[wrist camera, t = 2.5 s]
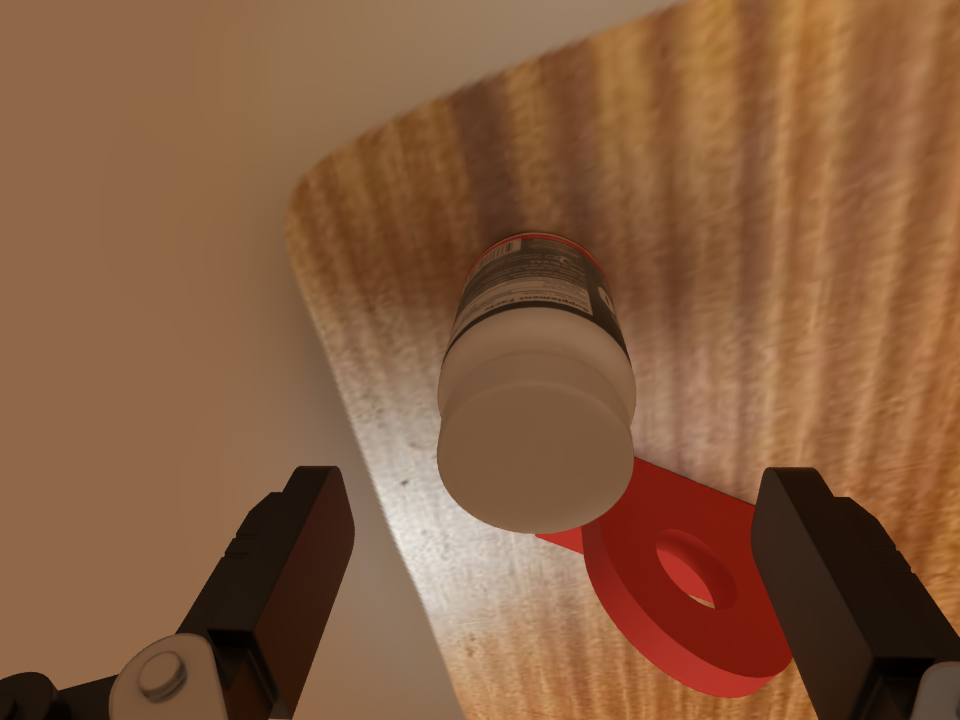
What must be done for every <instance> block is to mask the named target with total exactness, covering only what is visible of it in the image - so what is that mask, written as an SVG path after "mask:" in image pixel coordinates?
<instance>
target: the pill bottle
mask: <svg viewBox="0 0 960 720" xmlns="http://www.w3.org/2000/svg"><path fill="white" fill-rule="evenodd" d="M438 406H439V411H440V416H441V429H440V435H439V441H438V447H437V464H438V470H439V473H440V476H441V479H442V482H443V484H444V486H445V488H446V489H447V491H448V492H449V494H450V495H451V497H452V498H453V499H454V500H455V501H456V502H457V503H458V505H460V506H461V507H462V508H463V509H464V510H465V511H467V512H468V513H469V514H471V515H472V516H474V517H475V518H477V519H479V520H481V521H482V522H484V523H487V524H489V525H492V526H494V527H497V528H501V529H504V530H508V531H513V532H519V533H529V534H549V533H556V532H561V531H566V530H570V529H573V528H576V527H579V526H582V525H585V524H587V523H589V522H591V521H593V520H594V519H596V518H598V517H599V516H601V515H603V514H604V513H605V512H607V511H608V510H609V509H610V508H611V507H612V506H613V505H614V504H615V503H616V502H617V501H618V500H619V499H620V497H621V496H622V495H623V493H624V492H625V490H626V488H627V486H628V484H629V482H630V480H631V476H632V472H633V466H634V450H633V443H632V437H631V430H630V425H631V423H632V419H633V416H634V411H635V406H636V385H635V379H634V374H633V370H632V366H631V362H630V359H629V355H628V352H627V349H626V345H625V342H624V338H623V335H622V332H621V329H620V324H619V321H618V318H617V314H616V311H615V309H614V305H613V301H612V298H611V295H610V290H609V287H608V283H607V280H606V278H605V276H604V274H603V272H602V270H601V268H600V266H599V265H598V263H597V262H596V261H595V259H594V258H593V257H592V256H591V255H590V254H589V253H588V252H587V251H586V250H585V249H583V248H582V247H581V246H579V245H578V244H576V243H574V242H572V241H570V240H568V239H565V238H563V237H560V236H556V235H553V234H548V233H536V232H534V233H523V234H518V235H515V236H511V237H509V238H506V239H504V240H502V241H500V242H498V243H497V244H495V245H493V246H492V247H490V248H489V249H488V250H487V251H485V252H484V253H483V254H482V255H481V256H480V257H479V258H478V260H477V261H476V262H475V264H474V265H473V267H472V268H471V270H470V272H469V274H468V276H467V278H466V281H465V284H464V287H463V292H462V296H461V300H460V304H459V307H458V311H457V315H456V319H455V322H454V326H453V329H452V332H451V336H450V340H449V343H448V346H447V350H446V353H445V356H444V359H443V363H442V367H441V372H440V377H439V383H438Z"/></svg>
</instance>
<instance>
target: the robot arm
mask: <svg viewBox="0 0 960 720" xmlns="http://www.w3.org/2000/svg"><path fill="white" fill-rule="evenodd" d="M354 537H355V527H354V520H353V516H352V512H351V508H350V504H349V501H348V497H347V494H346V489H345V485H344V482H343V477H342V474H341V472H340V469H339V468H338V467H337V466H299V467H297V468H296V469H295V470H294V472H293V474H292V476H291V477H290V479H289V481H288V483H287V485H286V486H285V488H284V490H283V492H271V493H270V494H269V495H267V496H266V497H265V498H264V499H263V500H262V501H261V502H259V503H258V504H257V505H256V506H255V507H254V508H253V509H252V510H251V511H249V513H248V515H247V516H246V518H245V520H244V521H243V523H242V525H241V526H240V528H239V529H238V531H237V533H236V538H233V539H232V541H231V543H230V544H229V546H228V548H227V549H226V551H225V556H224V557H222V558H221V559H220V561H219V563H218V564H217V566H216V568H215V569H214V571H213V572H212V574H211V576H210V577H209V579H208V581H207V582H206V584H205V586H204V588H203V589H202V591H201V592H200V594H199V596H198V597H197V599H196V601H195V602H194V604H193V606H192V607H191V609H190V611H189V613H188V614H187V616H186V617H185V619H184V621H183V622H182V624H181V626H180V627H179V629H178V630H177V632H176V633H175V634H174V635H171V636H168V637H165V638H162V639H160V640H158V641H156V642H154V643H152V644H150V645H149V646H147V647H146V648H145V649H143V650H142V651H141V652H139V653H138V654H137V655H136V656H134V657H133V658H132V659H131V660H130V661H129V662H128V664H127V665H126V666H125V667H124V668H123V669H122V671H121V672H120V674H117V675H114V676H111V677H107V678H103V679H100V680H96V681H92V682H89V683H85V684H81V685H78V686H74V687H70V688H67V689H63V690H59V691H58V690H57V689H56V687H55V686H54V685H53V683H52V682H51V681H50V680H49V678H48V677H46V676H45V675H43V674H40V673H37V672H25V673H19V674H16V675H12V676H9V677H6V678H4V679H2V680H0V720H268V719H269V718H270V719H289V720H291V719H292V717H293V715H294V712H295V709H296V706H297V704H298V701H299V698H300V696H301V692H302V690H303V687H304V684H305V682H306V679H307V676H308V673H309V671H310V668H311V665H312V662H313V659H314V657H315V654H316V651H317V648H318V646H319V643H320V640H321V637H322V634H323V632H324V628H325V626H326V623H327V621H328V618H329V615H330V612H331V609H332V607H333V604H334V601H335V598H336V596H337V593H338V590H339V587H340V584H341V582H342V579H343V576H344V573H345V571H346V568H347V565H348V562H349V559H350V557H351V554H352V550H353V545H354ZM750 538H751V548H752V554H753V558H754V561H755V564H756V566H757V569H758V571H759V574H760V576H761V579H762V581H763V584H764V586H765V589H766V591H767V594H768V596H769V599H770V601H771V603H772V606H773V608H774V611H775V613H776V616H777V618H778V621H779V623H780V626H781V628H782V631H783V633H784V635H785V638H786V640H787V643H788V645H789V648H790V650H791V653H792V655H793V658H794V660H795V663H796V665H797V668H798V670H799V672H800V675H801V677H802V680H803V682H804V685H805V687H806V690H807V692H808V695H809V697H810V700H811V702H812V705H813V707H814V709H815V712H816V714H817V717H818V719H819V720H960V638H959V636H958V635H957V633H956V632H955V630H954V629H953V628H952V626H951V625H950V623H949V622H948V620H947V619H946V618H945V616H944V615H943V613H942V612H941V610H940V609H939V607H938V606H937V605H936V603H935V602H934V600H933V599H932V597H931V596H930V594H929V593H928V592H927V590H926V589H925V587H924V586H923V584H922V583H921V581H920V580H919V579H918V577H917V576H916V574H915V573H912V572H911V567H910V566H909V564H908V563H907V561H906V560H905V558H904V557H903V555H902V554H901V553H900V551H897V550H896V548H895V546H896V545H895V544H894V542H893V541H892V540H891V538H890V537H889V535H888V534H887V532H886V531H885V529H884V528H883V527H882V525H881V524H880V522H879V521H878V519H876V518H875V517H874V516H873V515H871V514H870V513H869V512H868V511H866V510H865V509H864V508H862V507H861V506H860V505H859V504H857V503H856V502H855V501H854V500H852V499H851V498H850V497H834V496H833V494H832V492H831V491H830V489H829V488H828V486H827V485H826V483H825V481H824V480H823V478H822V477H821V475H820V474H819V472H818V471H817V470H816V469H814V468H812V467H768V468H766V469H765V471H764V473H763V476H762V480H761V484H760V489H759V493H758V498H757V502H756V507H755V511H754V516H753V520H752V525H751V534H750Z"/></svg>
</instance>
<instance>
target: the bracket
mask: <svg viewBox="0 0 960 720" xmlns="http://www.w3.org/2000/svg"><path fill="white" fill-rule="evenodd" d="M754 511H755V506H752V505H750V504H747V503H745V502H742V501H740V500H737V499H735V498H733V497H730V496H728V495H725V494H723V493H720V492H718V491H716V490H713V489H711V488H708V487H706V486H703V485H701V484H698V483H696V482H694V481H691V480H689V479H686V478H684V477H681V476H679V475H677V474H674V473H672V472H669V471H667V470H664V469H662V468H660V467H657V466H655V465H652V464H650V463H647V462H645V461H642V460H640V459H638V458H635V457H634V466H633V472H632V476H631V480H630V482H629V484H628V486H627V488H626V490H625V492H624V493H623V495H622V496H621V497H620V499H619V500H618V501H617V502H616V503H615V504H614V505H613V506H612V507H611V508H610V509H609V510H608V511H607V512H605V513H604V514H603V515H601V516H599V517H598V518H596V519H594V520H593V521H591V522H589V523H587V524H585V525H582V526H579V527H576V528H573V529H570V530H566V531H561V532H556V533H549V534H535V536H536V537H538V538H541V539H544V540H546V541H549V542H552V543H554V544H557V545H560V546H562V547H565V548H568V549H570V550H573V551H576V552H578V553H581V554H583V555H584V559H585V564H586V568H587V572H588V575H589V578H590V581H591V583H592V586H593V588H594V590H595V592H596V594H597V596H598V598H599V600H600V602H601V604H602V605H603V607H604V609H605V610H606V612H607V613H608V615H609V616H610V618H611V619H612V621H613V622H614V623H615V625H616V626H617V627H618V629H619V630H620V631H621V632H622V633H623V635H624V636H625V637H626V638H627V639H628V641H629V642H630V643H631V644H632V645H633V646H634V647H635V648H636V649H637V650H638V651H639V652H640V653H641V654H642V655H644V656H645V657H646V658H647V659H648V660H649V661H650V662H652V663H653V664H654V665H655V666H657V667H658V668H659V669H660V670H662V671H663V672H665V673H666V674H668V675H669V676H671V677H672V678H674V679H675V680H677V681H679V682H681V683H682V684H684V685H686V686H688V687H690V688H692V689H695V690H697V691H700V692H702V693H705V694H708V695H712V696H717V697H724V698H739V697H743V696H747V695H749V694H751V693H753V692H755V691H756V690H758V689H759V688H760V687H762V686H763V685H764V684H766V683H767V682H768V681H770V680H771V679H772V678H773V677H775V676H776V675H777V674H779V673H780V672H781V671H783V670H784V669H785V668H786V667H787V666H788V665H789V663H790V662H791V660H792V657H793V655H792V653H791V650H790V648H789V645H788V643H787V640H786V638H785V635H784V633H783V631H782V628H781V626H780V623H779V621H778V618H777V616H776V613H775V611H774V608H773V606H772V603H771V601H770V599H769V596H768V594H767V591H766V589H765V586H764V584H763V581H762V579H761V576H760V574H759V571H758V569H757V566H756V564H755V561H754V558H753V554H752V548H751V538H750V534H751V525H752V520H753V516H754ZM686 593H687V594H689V595H692V596H695V597H697V598H700V599H703V600H705V601H708V602H711V603H713V604H714V605H715V609H713V608H710V607H707V606H705V605H703V604H701V603H699V602H697V601H696V600H694V599H693V598H691V597H690V596H689V595H687V594H686Z"/></svg>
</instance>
